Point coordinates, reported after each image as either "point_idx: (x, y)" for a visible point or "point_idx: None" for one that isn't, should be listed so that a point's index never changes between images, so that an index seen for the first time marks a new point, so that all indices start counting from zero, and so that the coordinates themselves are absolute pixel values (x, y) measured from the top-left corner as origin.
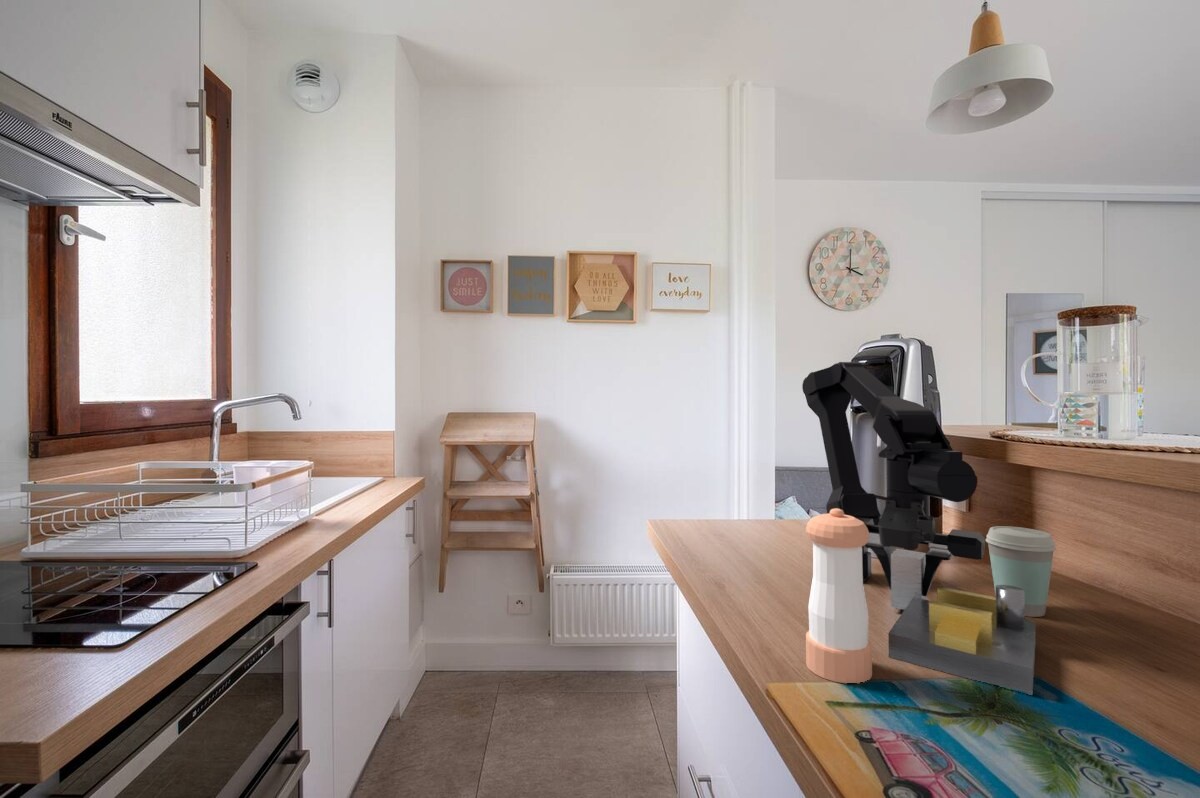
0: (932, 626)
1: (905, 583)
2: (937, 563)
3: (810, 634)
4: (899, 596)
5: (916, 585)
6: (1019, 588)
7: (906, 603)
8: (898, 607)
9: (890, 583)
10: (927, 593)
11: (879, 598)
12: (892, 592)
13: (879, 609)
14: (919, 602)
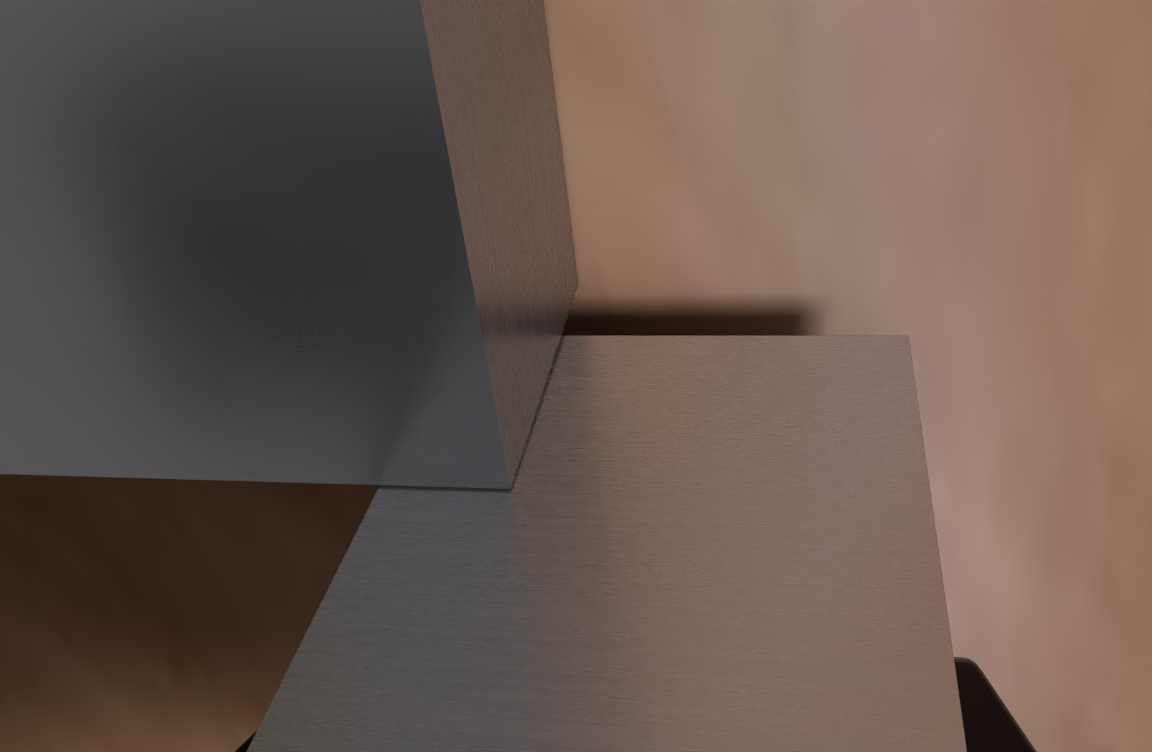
0: None
1: (611, 699)
2: None
3: None
4: (764, 467)
5: (381, 687)
6: None
7: (651, 399)
8: (788, 342)
9: (983, 744)
10: None
11: (1130, 689)
12: (903, 506)
13: (1095, 305)
14: (318, 283)
